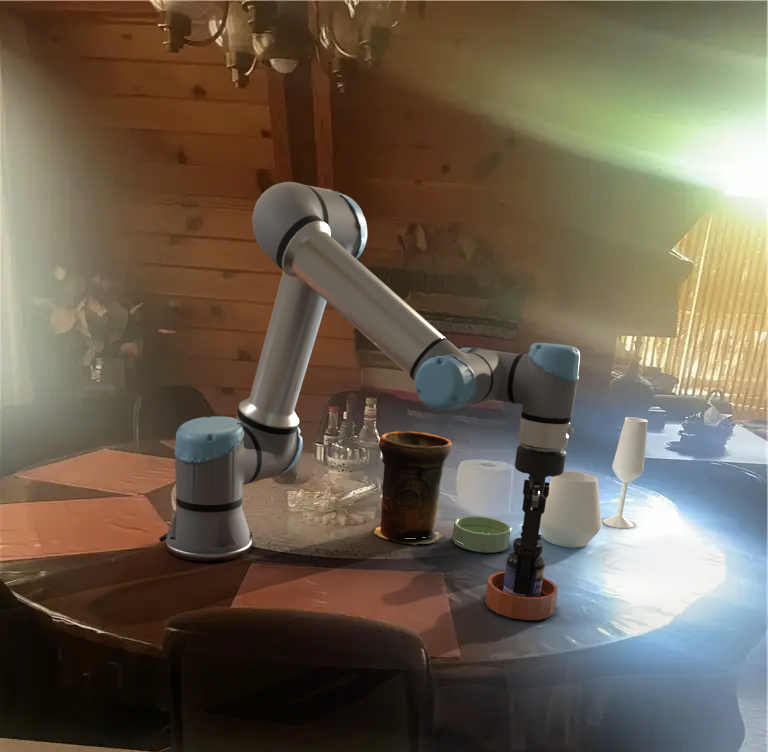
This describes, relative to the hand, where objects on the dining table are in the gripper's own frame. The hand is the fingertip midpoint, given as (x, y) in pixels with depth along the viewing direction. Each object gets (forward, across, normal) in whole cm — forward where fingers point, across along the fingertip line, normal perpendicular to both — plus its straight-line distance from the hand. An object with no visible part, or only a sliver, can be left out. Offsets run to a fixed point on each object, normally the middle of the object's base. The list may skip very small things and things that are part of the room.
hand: (522, 584), depth 123 cm
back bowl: (+4, +28, +9) cm, 30 cm away
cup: (+4, +38, -8) cm, 39 cm away
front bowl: (+4, 0, 0) cm, 4 cm away
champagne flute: (+4, +55, -20) cm, 59 cm away
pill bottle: (+4, 0, 0) cm, 4 cm away
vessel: (+4, +28, +24) cm, 37 cm away
